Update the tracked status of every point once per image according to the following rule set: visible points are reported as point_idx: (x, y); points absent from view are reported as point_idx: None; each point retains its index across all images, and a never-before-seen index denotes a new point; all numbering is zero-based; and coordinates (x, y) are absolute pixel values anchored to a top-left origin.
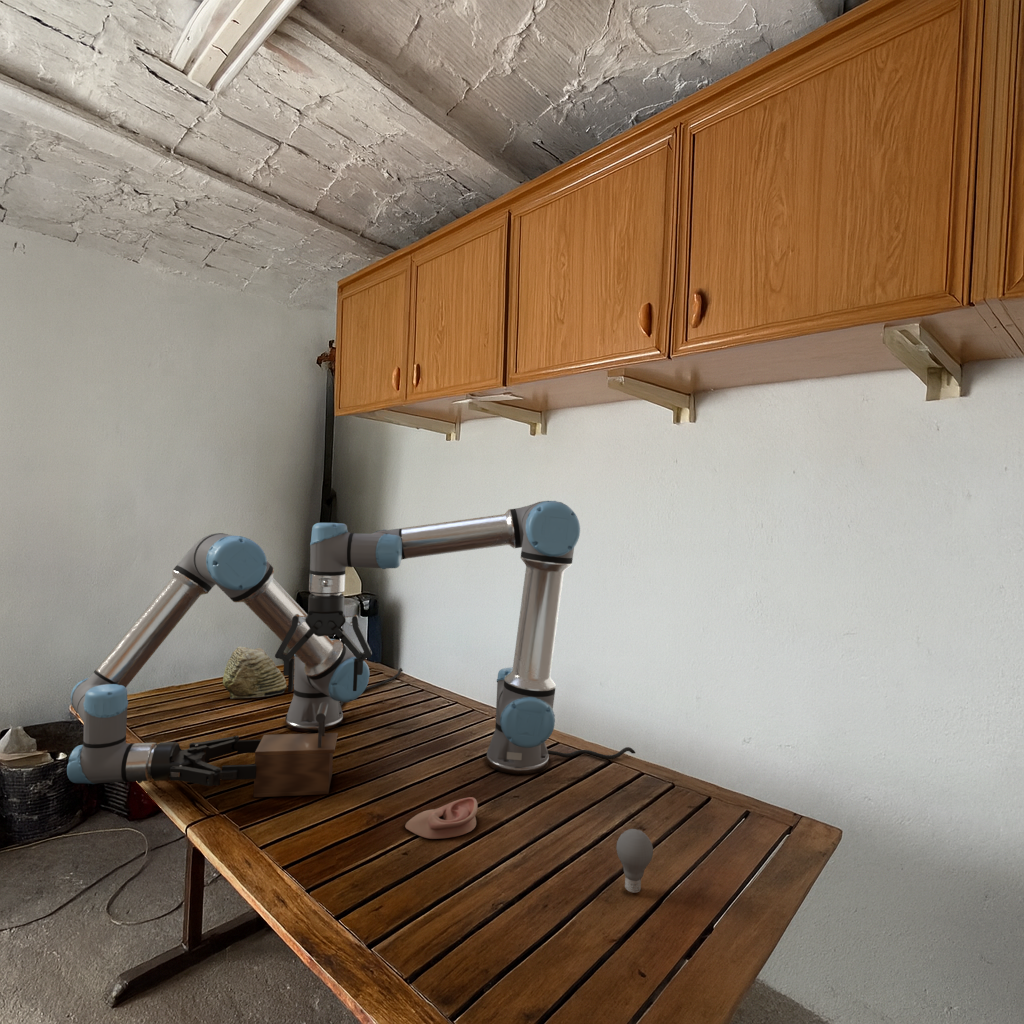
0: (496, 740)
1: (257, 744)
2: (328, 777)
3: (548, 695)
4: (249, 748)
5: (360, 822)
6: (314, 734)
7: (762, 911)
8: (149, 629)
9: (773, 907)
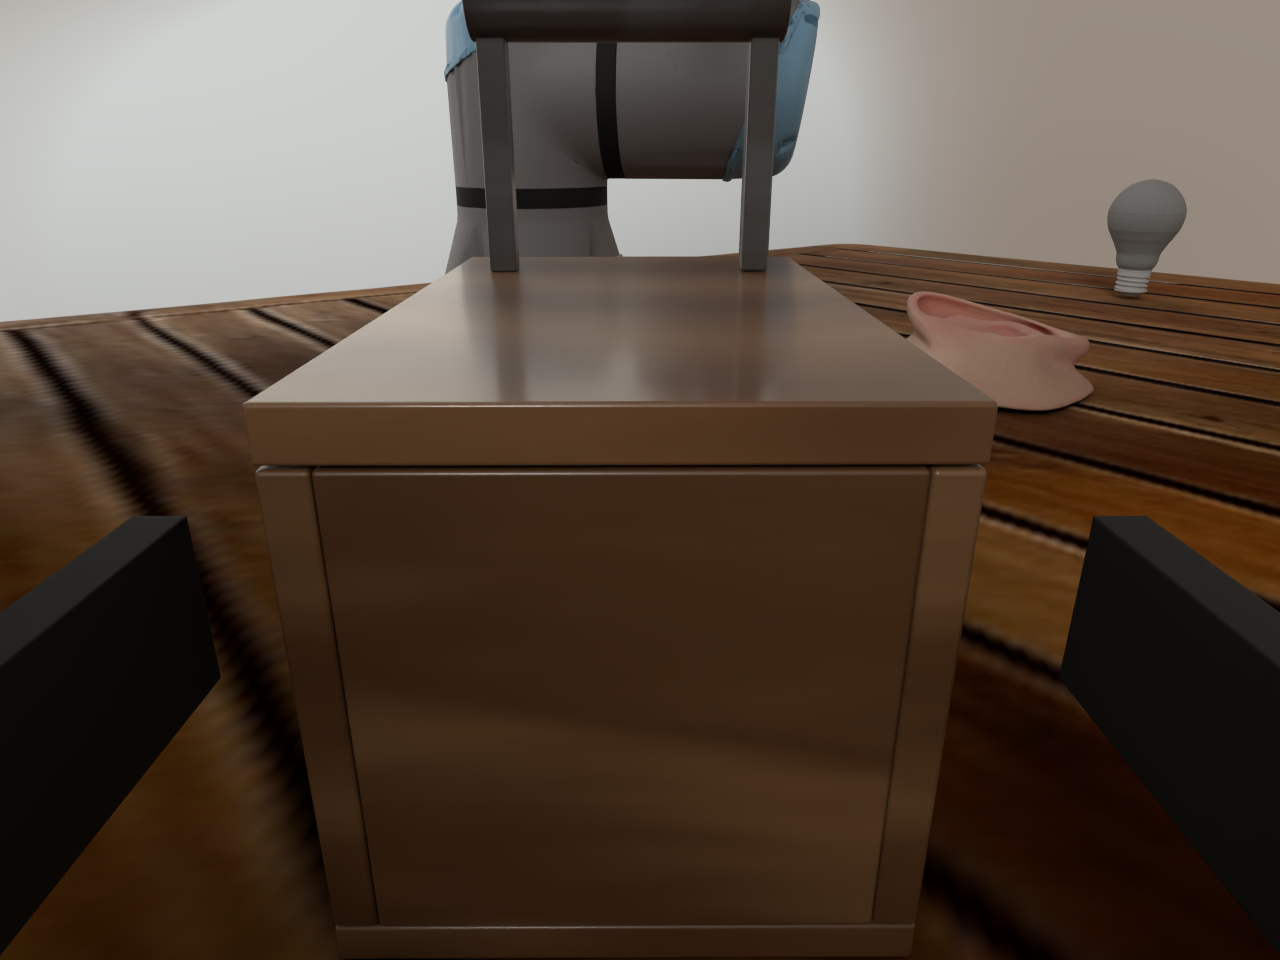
0: (554, 243)
1: (103, 656)
2: None
3: None
4: (27, 814)
5: (1051, 478)
6: (461, 280)
7: (1103, 270)
8: None
9: (1086, 267)
